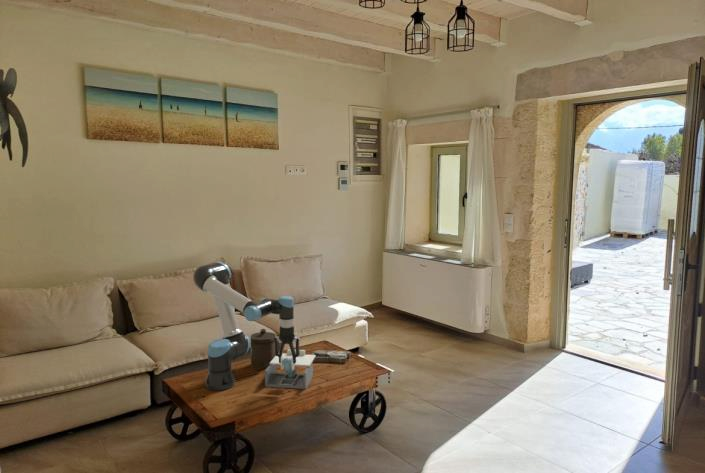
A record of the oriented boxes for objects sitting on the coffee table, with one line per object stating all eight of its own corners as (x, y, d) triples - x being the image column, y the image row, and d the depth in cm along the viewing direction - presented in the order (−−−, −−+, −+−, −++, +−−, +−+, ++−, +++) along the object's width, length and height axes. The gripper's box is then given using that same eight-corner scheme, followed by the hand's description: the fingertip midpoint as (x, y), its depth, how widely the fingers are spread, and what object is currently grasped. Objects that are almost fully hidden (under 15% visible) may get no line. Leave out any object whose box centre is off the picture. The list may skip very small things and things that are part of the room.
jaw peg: (281, 371, 249) (281, 360, 249) (284, 367, 255) (284, 356, 254) (291, 371, 249) (290, 360, 248) (293, 368, 254) (293, 357, 253)
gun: (346, 359, 283) (350, 350, 297) (306, 356, 287) (312, 348, 301) (346, 365, 283) (350, 356, 298) (306, 363, 287) (312, 354, 302)
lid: (269, 364, 257) (269, 358, 257) (277, 354, 272) (277, 348, 272) (309, 366, 254) (309, 360, 254) (315, 356, 269) (315, 350, 269)
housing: (265, 388, 250) (264, 370, 249) (274, 376, 266) (273, 359, 265) (305, 390, 247) (305, 373, 246) (312, 378, 263) (312, 361, 262)
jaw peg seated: (285, 380, 258) (285, 369, 257) (287, 376, 263) (287, 366, 262) (294, 380, 257) (294, 370, 256) (297, 377, 262) (297, 366, 262)
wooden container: (261, 359, 292) (260, 324, 290) (281, 363, 286) (280, 327, 283) (245, 367, 279) (244, 331, 276) (266, 371, 272) (265, 334, 270)
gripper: (267, 327, 247) (268, 370, 249) (301, 328, 244) (302, 372, 247) (272, 323, 254) (273, 365, 257) (305, 324, 252) (306, 367, 254)
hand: (287, 368), depth 252 cm, fingers closed on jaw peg, 5 cm apart
